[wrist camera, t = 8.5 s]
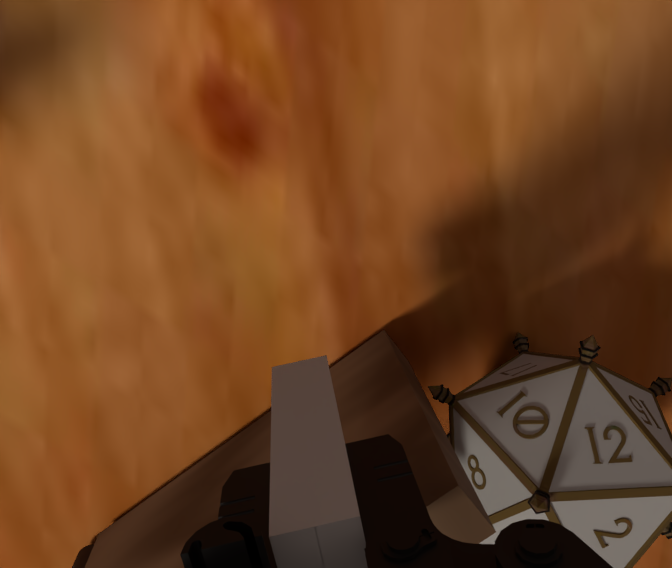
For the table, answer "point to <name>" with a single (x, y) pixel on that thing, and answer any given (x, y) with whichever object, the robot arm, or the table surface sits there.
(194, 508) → the door
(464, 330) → the table surface
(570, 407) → the game die
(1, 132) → the table surface
